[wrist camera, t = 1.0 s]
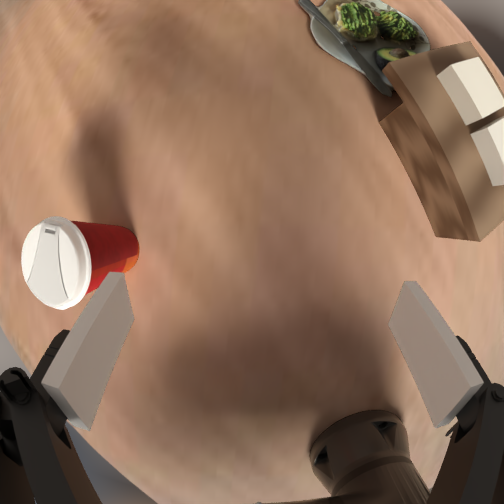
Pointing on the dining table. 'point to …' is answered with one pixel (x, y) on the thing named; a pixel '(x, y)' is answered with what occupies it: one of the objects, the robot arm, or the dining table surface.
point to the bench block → (442, 146)
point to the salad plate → (365, 35)
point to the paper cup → (74, 258)
